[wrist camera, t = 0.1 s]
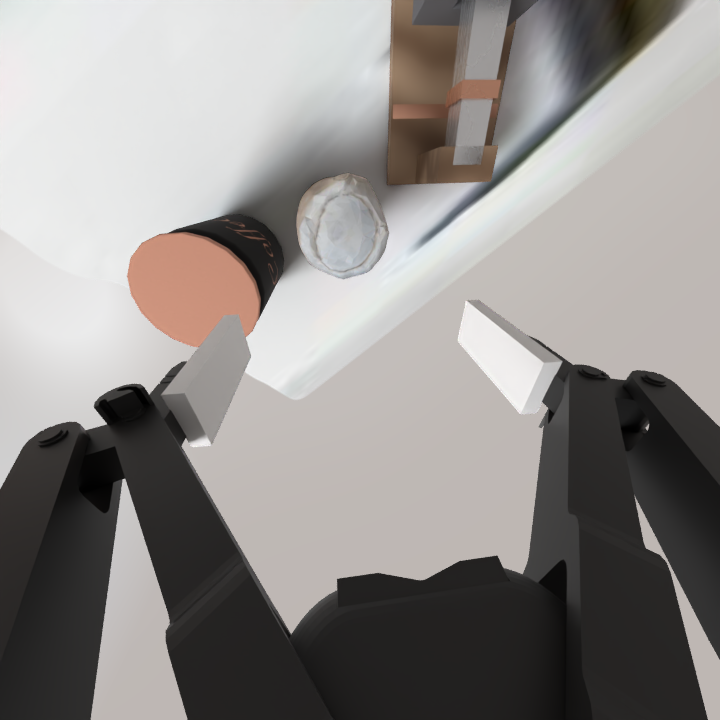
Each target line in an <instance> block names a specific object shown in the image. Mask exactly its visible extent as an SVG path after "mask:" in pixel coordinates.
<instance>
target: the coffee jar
mask: <svg viewBox="0 0 720 720" xmlns="http://www.w3.org/2000/svg"><path fill="white" fill-rule="evenodd" d="M283 263H284V258H283V254H282V249H281V246H280V244H279V243H278V241H277V239H276V237H275V235H274V234H273V233H272V232H271V231H270V230H269V229H268V228H267V227H266V226H265V225H264V224H262V223H260V222H259V221H257V220H256V219H254V218H251V217H248V216H244V215H240V214H238V215H226V216H222V217H219V218H215V219H212V220H208V221H204V222H201V223H197V224H194V225H190V226H186V227H183V228H179V229H176V230H174V231H172V232H169V233H167V234H159V235H157V236H155V237H153V238H151V239H149V240H147V241H145V242H143V243H142V244H141V245H140V246H139V248H138V249H137V250H136V251H135V253H134V254H133V255H132V257H131V259H130V264H129V269H128V275H127V277H128V282H129V286H130V291H131V295H132V297H133V299H134V300H135V302H136V304H137V306H138V307H139V309H140V311H141V313H142V314H143V315H144V316H145V317H146V318H147V319H148V320H149V321H150V322H151V323H152V324H153V325H154V326H155V327H156V328H157V329H159V330H160V331H162V332H163V333H165V334H166V335H168V336H169V337H171V338H172V339H174V340H177V341H180V342H182V343H185V344H187V345H190V346H194V347H199V346H200V345H201V344H202V343H203V341H204V340H205V339H206V338H207V336H208V335H209V334H210V333H211V331H212V330H213V329H214V328H215V326H216V325H217V324H218V323H219V321H220V320H221V319H222V317H223V316H224V315H238V314H239V318H240V321H241V324H242V328H243V331H244V334H245V337H246V336H248V335H249V334H250V333H251V332H252V331H253V329H254V327H255V325H256V322H257V321H258V320H259V318H260V316H261V314H262V312H263V310H264V308H265V306H266V304H267V302H268V300H269V298H270V296H271V294H272V292H273V290H274V288H275V286H276V284H277V282H278V280H279V278H280V276H281V274H282V272H283Z"/></svg>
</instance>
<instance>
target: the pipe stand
mask: <svg viewBox="0 0 720 720" xmlns="http://www.w3.org/2000/svg"><path fill="white" fill-rule="evenodd" d="M412 15H413V0H392V6H391V45H390V83H389V122H388V161H387V185H402V184H433V183H465V182H488V181H491V178H492V173H493V168H494V164H495V159H496V154H497V149H498V146H491V145H492V140H493V135H494V130H495V125H496V120H497V115H498V110H499V105H500V100H501V94H502V89H503V84H504V79H505V74H506V69H507V64H508V59H509V54H510V49H511V44H512V39H513V34H514V29H515V24H516V20H515V21H514V22H513V23H512V24H511V25H510V26H508V27H506V31H505V36H504V42H503V47H502V52H501V58H500V63H499V69H498V74H497V79H496V80H501V83H500V88H499V94H498V98H497V99H495V100H493V101H492V106H491V112H490V117H489V122H488V128H487V133H486V139H485V144H484V147H483V146H482V147H483V148H484V149H483V148H482V149H483V152H482V153H481V154H483V155H482V156H481V157H482V159H481V160H480V156H479V154H478V153H477V154H478V156H479V157H478V156H477V155H476V154H474V156H473V157H476V156H477V157H478V159H477V157H476V158H475V159H477V161H478V160H479V161H480V162H479V163H478V162H477V161H476V160H475V161H476V162H477V163H476V164H475V165H472V163H471V164H470V163H469V164H470V165H466V164H468V163H466V162H465V161H466V160H465V159H464V158H463V159H464V162H465V163H466V164H465V163H464V162H463V164H462V165H460V163H461V162H460V163H459V165H455V164H454V165H453V161H454V154H455V147H456V146H451V147H445V139H446V131H447V122H448V114H449V108H445V107H446V98H447V92H448V91H449V90H450V89H452V81H453V72H454V64H455V56H456V47H457V39H458V31H459V26H438V25H412ZM464 147H466V146H464ZM467 147H469V146H467ZM470 147H472V146H470ZM473 148H475V147H473ZM473 148H472V149H473ZM477 148H480V147H479V146H478V147H477ZM477 148H476V150H477ZM457 149H458V148H457ZM468 149H469V148H468ZM472 149H471V150H472ZM459 150H460V149H459ZM463 150H464V149H463ZM480 150H481V148H480V149H479V151H480ZM457 151H458V150H457ZM473 151H474V150H473ZM477 151H478V150H477ZM477 151H476V152H477ZM459 152H460V151H459ZM459 152H458V154H459ZM469 152H470V150H469ZM471 152H472V151H471ZM476 152H475V153H476ZM480 152H481V151H480ZM462 153H463V152H462ZM472 153H473V152H472ZM464 154H467V153H464ZM464 154H463V155H464ZM467 155H470V153H469V154H467ZM471 155H473V154H471ZM475 155H476V156H475ZM458 156H459V155H458ZM464 156H465V155H464ZM455 157H456V155H455ZM468 157H469V156H468ZM468 157H467V158H468ZM459 158H460V157H459ZM459 158H458V159H459ZM469 158H470V157H469ZM471 158H472V157H471ZM473 160H474V159H473ZM455 161H456V160H455ZM455 161H454V162H455ZM462 161H463V160H462ZM467 161H468V159H467ZM475 161H474V162H473V164H474V163H475ZM470 162H472V161H471V160H470ZM480 163H481V164H480ZM464 164H465V165H464Z"/></svg>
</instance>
